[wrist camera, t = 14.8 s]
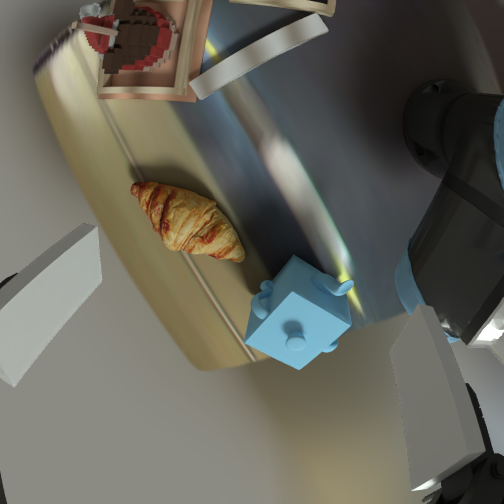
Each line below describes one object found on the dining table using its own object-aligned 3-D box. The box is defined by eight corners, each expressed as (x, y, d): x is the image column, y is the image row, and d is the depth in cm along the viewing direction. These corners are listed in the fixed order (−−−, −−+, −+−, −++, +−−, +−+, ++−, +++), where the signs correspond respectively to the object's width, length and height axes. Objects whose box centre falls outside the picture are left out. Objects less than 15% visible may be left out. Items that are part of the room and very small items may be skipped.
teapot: (311, 331, 56) (311, 385, 44) (240, 291, 53) (226, 343, 42) (376, 264, 47) (395, 315, 36) (301, 212, 45) (302, 254, 34)
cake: (173, 77, 37) (101, 72, 21) (119, 75, 37) (36, 77, 21) (186, 11, 32) (124, -28, 16) (131, 13, 32) (54, -11, 16)
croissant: (258, 231, 51) (268, 233, 43) (226, 281, 51) (230, 292, 43) (152, 164, 47) (143, 154, 40) (121, 215, 47) (106, 215, 40)
